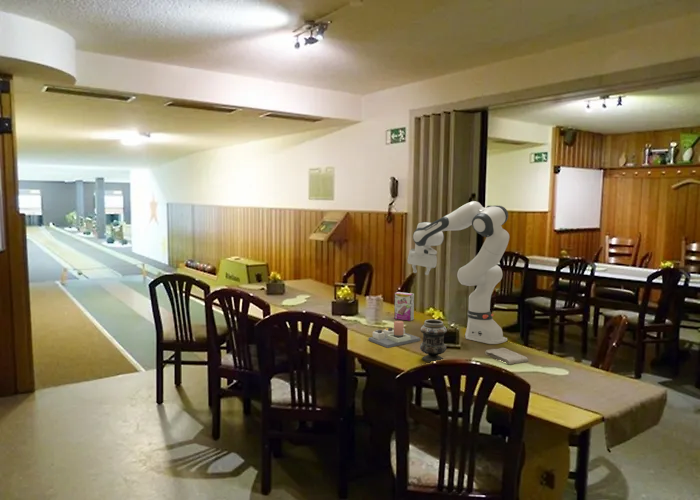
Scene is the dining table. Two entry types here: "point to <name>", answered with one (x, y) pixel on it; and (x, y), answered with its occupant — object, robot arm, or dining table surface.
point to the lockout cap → (398, 329)
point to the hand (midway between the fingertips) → (420, 273)
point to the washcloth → (506, 355)
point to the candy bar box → (404, 306)
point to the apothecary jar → (433, 340)
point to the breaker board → (391, 338)
